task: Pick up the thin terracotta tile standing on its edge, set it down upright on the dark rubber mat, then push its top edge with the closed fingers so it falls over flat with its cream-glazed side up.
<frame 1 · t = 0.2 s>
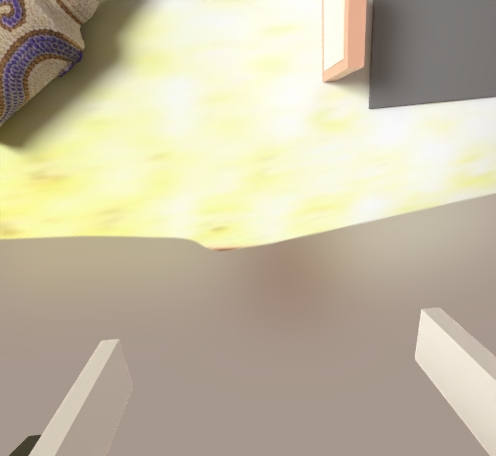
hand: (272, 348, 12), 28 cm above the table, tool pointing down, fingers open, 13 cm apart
terracotta tile: (329, 38, 33), on the table
decorative bottle: (46, 67, 33), on the table
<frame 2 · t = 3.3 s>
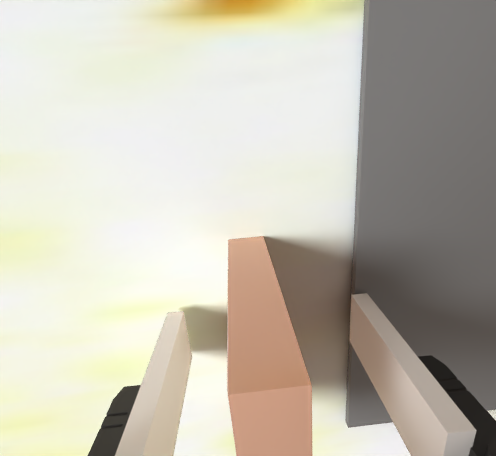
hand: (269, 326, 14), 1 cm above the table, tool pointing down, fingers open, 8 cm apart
terracotta tile: (253, 319, 14), on the table
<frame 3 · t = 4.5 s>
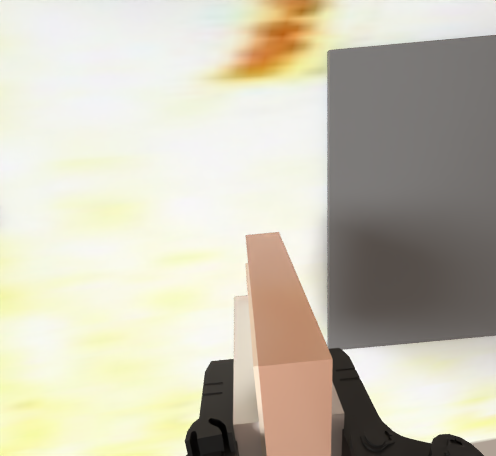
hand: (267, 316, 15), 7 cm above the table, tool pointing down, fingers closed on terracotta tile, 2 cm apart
terracotta tile: (267, 312, 15), point 7 cm above the table, touching gripper
rubber mat: (436, 213, 21), on the table
when the fingers open (1 cm above the table, at t = 8.2 s): terracotta tile stays where it is, resting on rubber mat.
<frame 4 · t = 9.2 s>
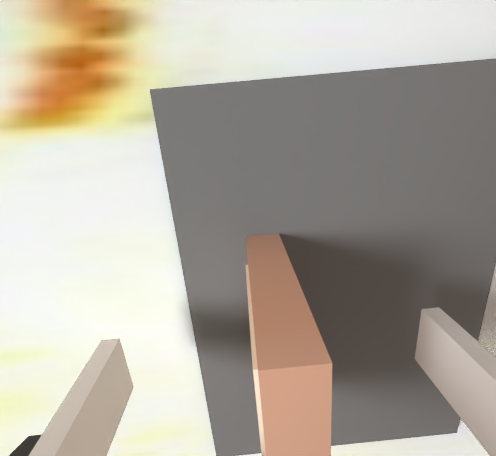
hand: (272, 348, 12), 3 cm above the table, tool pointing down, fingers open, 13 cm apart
terracotta tile: (267, 313, 15), resting on rubber mat
rubber mat: (338, 299, 15), on the table
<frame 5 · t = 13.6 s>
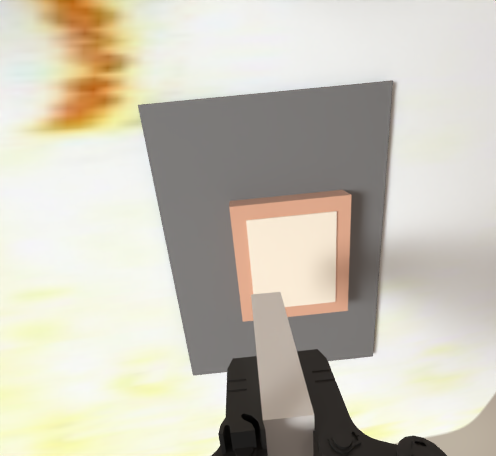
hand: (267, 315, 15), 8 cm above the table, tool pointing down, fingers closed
terracotta tile: (236, 263, 21), point 1 cm above the table, tilted 90°, touching rubber mat
rubber mat: (275, 250, 22), on the table
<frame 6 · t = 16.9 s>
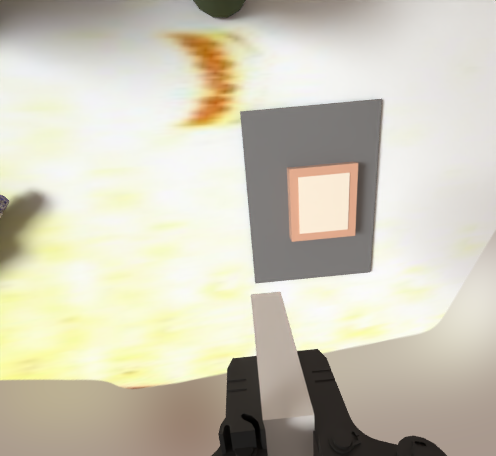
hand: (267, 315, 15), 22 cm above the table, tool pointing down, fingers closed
terracotta tile: (289, 205, 35), point 1 cm above the table, tilted 90°, touching rubber mat
rubber mat: (311, 199, 36), on the table
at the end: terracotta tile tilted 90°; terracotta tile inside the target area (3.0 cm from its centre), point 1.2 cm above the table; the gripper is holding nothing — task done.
